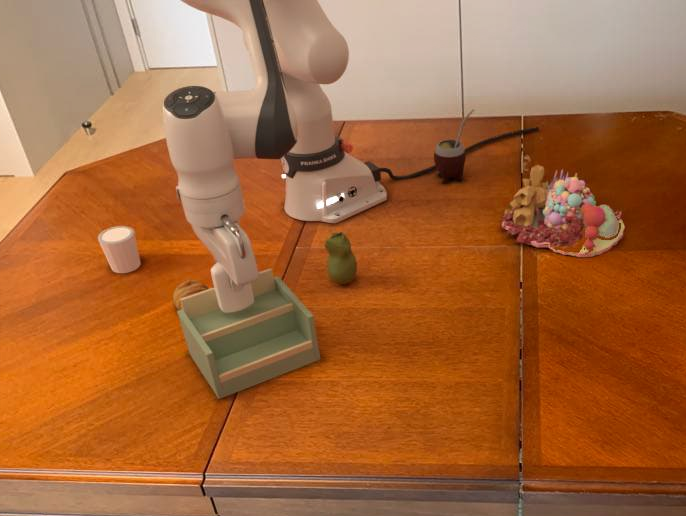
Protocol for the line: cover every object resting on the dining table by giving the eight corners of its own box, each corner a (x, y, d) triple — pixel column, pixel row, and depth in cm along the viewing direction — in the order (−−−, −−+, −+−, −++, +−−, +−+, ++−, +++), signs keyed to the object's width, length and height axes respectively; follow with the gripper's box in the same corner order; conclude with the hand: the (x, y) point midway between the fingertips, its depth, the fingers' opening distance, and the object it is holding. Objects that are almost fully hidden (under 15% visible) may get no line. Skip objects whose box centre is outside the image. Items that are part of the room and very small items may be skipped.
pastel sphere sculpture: (486, 242, 161) (487, 200, 155) (521, 190, 177) (523, 149, 171) (611, 264, 153) (616, 220, 147) (635, 207, 169) (641, 165, 163)
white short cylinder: (134, 276, 157) (123, 244, 152) (101, 273, 158) (90, 242, 153) (149, 257, 162) (140, 226, 157) (118, 255, 163) (108, 224, 158)
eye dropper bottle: (222, 298, 134) (206, 235, 126) (255, 297, 134) (242, 233, 126) (218, 314, 131) (201, 249, 123) (252, 312, 131) (238, 247, 123)
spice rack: (286, 319, 144) (276, 266, 137) (320, 359, 135) (312, 305, 128) (189, 354, 137) (173, 300, 130) (218, 399, 128) (203, 344, 121)
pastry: (223, 315, 146) (219, 297, 143) (188, 327, 143) (182, 310, 141) (206, 291, 152) (201, 273, 149) (171, 302, 149) (166, 285, 147)
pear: (363, 278, 153) (358, 231, 146) (348, 292, 150) (342, 245, 143) (338, 271, 155) (332, 224, 148) (323, 285, 152) (316, 238, 145)
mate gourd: (429, 181, 182) (426, 115, 172) (446, 167, 187) (445, 103, 177) (457, 188, 179) (456, 122, 169) (475, 174, 184) (475, 108, 174)
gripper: (260, 226, 114) (276, 306, 124) (210, 172, 128) (227, 249, 137) (218, 239, 112) (237, 320, 121) (171, 183, 125) (192, 260, 135)
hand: (231, 281), depth 129 cm, fingers closed on eye dropper bottle, 3 cm apart
